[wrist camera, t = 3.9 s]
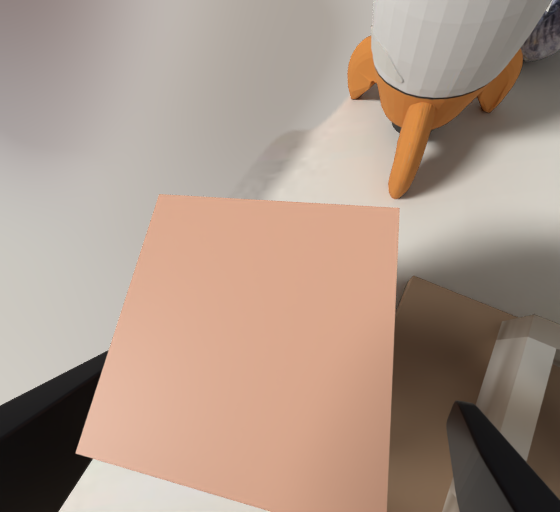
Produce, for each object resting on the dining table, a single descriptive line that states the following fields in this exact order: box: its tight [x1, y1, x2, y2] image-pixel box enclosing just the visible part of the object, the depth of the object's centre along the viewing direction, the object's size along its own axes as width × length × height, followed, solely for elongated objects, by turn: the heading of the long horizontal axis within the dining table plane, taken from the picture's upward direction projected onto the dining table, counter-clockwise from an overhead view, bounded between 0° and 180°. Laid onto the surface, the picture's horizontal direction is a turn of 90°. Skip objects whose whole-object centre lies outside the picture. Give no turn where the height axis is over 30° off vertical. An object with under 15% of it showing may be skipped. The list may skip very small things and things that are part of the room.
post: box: [76, 194, 400, 512], centre depth 11 cm, size 4×4×13 cm
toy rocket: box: [348, 0, 552, 199], centre depth 14 cm, size 10×11×15 cm
